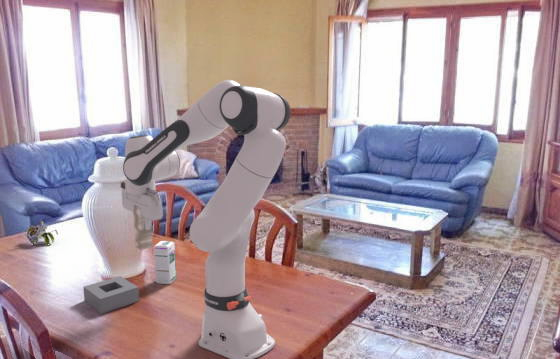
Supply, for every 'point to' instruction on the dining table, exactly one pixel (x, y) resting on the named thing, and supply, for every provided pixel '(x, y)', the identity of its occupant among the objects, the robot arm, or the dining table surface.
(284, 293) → the dining table surface
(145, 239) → the cream peg
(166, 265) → the syrup box
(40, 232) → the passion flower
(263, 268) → the dining table surface
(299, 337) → the dining table surface
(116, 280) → the socket block
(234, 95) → the robot arm
